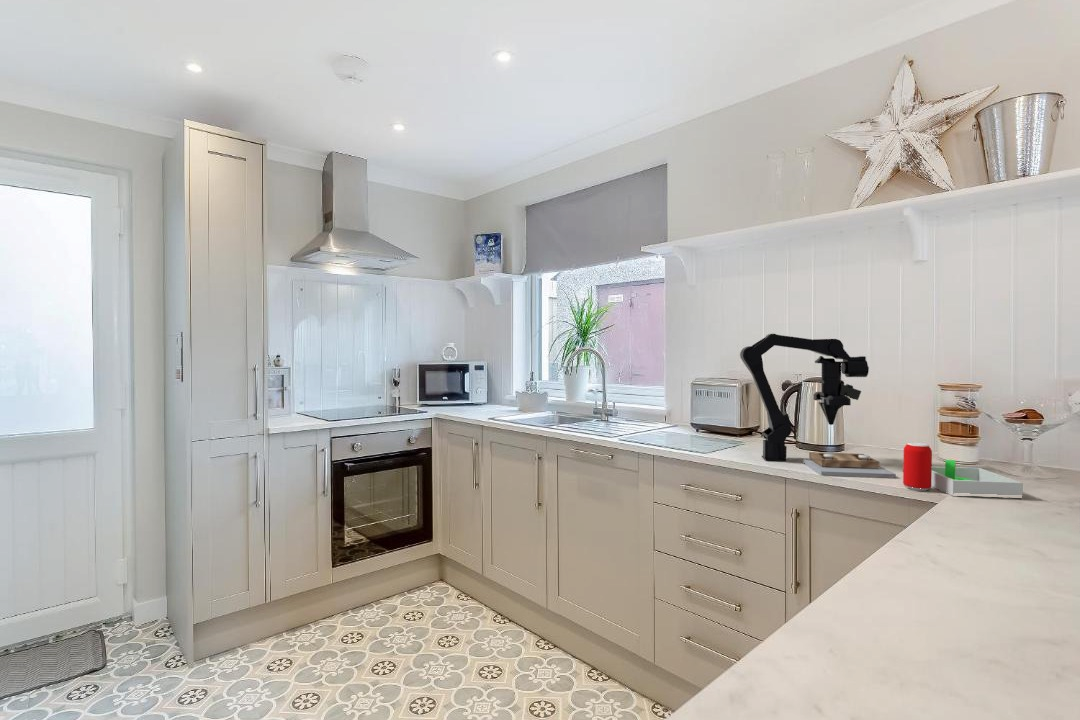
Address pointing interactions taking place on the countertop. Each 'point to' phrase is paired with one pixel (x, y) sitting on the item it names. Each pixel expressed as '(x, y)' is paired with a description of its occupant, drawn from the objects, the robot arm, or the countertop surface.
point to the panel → (843, 460)
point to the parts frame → (975, 482)
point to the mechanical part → (952, 470)
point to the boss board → (849, 469)
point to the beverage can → (917, 466)
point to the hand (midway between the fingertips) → (831, 424)
